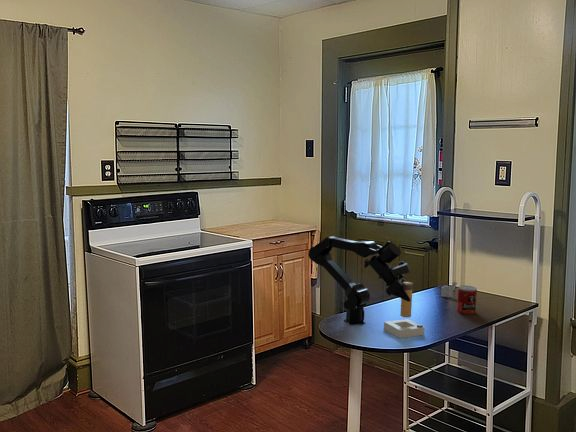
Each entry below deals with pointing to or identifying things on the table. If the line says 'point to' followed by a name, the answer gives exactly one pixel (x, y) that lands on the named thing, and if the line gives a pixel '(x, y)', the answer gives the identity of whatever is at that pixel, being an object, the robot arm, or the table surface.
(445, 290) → the lighter
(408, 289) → the plug
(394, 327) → the socket block
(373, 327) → the table surface
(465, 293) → the canned food
